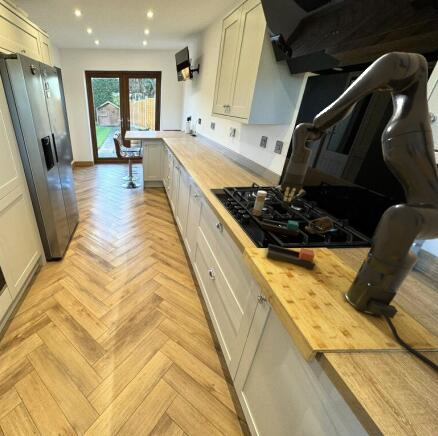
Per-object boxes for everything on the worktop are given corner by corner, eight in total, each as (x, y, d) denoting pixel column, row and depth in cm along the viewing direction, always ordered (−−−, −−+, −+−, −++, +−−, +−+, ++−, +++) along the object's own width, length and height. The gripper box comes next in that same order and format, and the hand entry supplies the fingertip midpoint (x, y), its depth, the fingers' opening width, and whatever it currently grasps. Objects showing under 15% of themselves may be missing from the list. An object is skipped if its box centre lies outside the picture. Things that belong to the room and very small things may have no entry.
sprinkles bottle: (258, 212, 134) (264, 190, 128) (262, 216, 130) (268, 193, 124) (250, 212, 134) (256, 190, 128) (254, 216, 130) (260, 193, 124)
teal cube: (296, 231, 111) (298, 225, 109) (286, 229, 112) (288, 223, 111) (295, 228, 114) (298, 222, 112) (286, 226, 116) (288, 220, 114)
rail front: (312, 270, 88) (315, 264, 86) (266, 257, 94) (268, 251, 93) (311, 260, 93) (313, 255, 92) (267, 249, 100) (268, 243, 98)
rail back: (297, 237, 110) (299, 232, 109) (260, 228, 117) (262, 223, 115) (296, 231, 115) (298, 226, 114) (261, 223, 122) (263, 218, 121)
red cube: (311, 263, 88) (314, 255, 87) (299, 260, 90) (302, 252, 88) (310, 258, 91) (313, 250, 90) (298, 255, 93) (301, 247, 92)
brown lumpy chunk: (342, 227, 109) (330, 214, 117) (316, 223, 108) (305, 210, 116) (333, 238, 113) (322, 225, 121) (307, 235, 113) (298, 222, 121)
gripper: (279, 171, 103) (268, 207, 111) (314, 176, 98) (301, 213, 105) (279, 168, 109) (269, 202, 117) (312, 172, 104) (300, 208, 111)
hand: (284, 208), depth 111 cm, fingers closed
